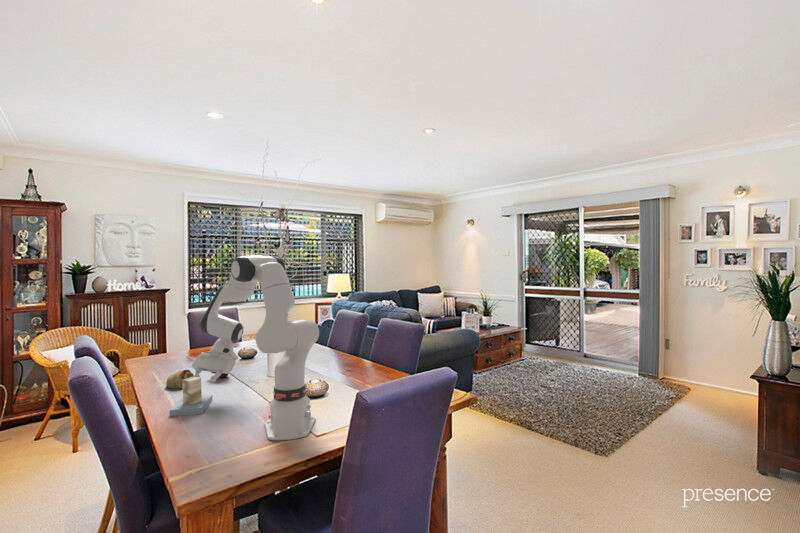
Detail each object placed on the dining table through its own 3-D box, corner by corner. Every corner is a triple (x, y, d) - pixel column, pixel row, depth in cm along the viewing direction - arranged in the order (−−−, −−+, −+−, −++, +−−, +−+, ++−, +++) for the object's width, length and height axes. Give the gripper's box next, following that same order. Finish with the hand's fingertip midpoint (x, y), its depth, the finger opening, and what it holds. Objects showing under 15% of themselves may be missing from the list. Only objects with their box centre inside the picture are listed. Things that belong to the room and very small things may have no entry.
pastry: (194, 387, 199) (193, 371, 198) (165, 391, 193) (164, 375, 193) (195, 380, 211) (194, 364, 211) (167, 383, 206) (167, 367, 206)
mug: (210, 381, 208) (210, 361, 208) (209, 377, 215) (208, 358, 215) (232, 377, 214) (232, 359, 213) (230, 374, 221) (230, 356, 220)
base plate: (201, 415, 164) (201, 408, 164) (169, 417, 162) (169, 410, 162) (212, 401, 180) (212, 394, 180) (183, 403, 178) (183, 396, 178)
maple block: (201, 400, 172) (201, 377, 172) (191, 404, 168) (190, 381, 168) (193, 399, 174) (192, 376, 174) (183, 403, 170) (182, 379, 170)
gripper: (199, 347, 188) (181, 373, 179) (234, 350, 181) (217, 378, 172) (206, 354, 192) (190, 380, 183) (241, 357, 185) (225, 385, 176)
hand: (203, 379), depth 177 cm, fingers open, 8 cm apart
